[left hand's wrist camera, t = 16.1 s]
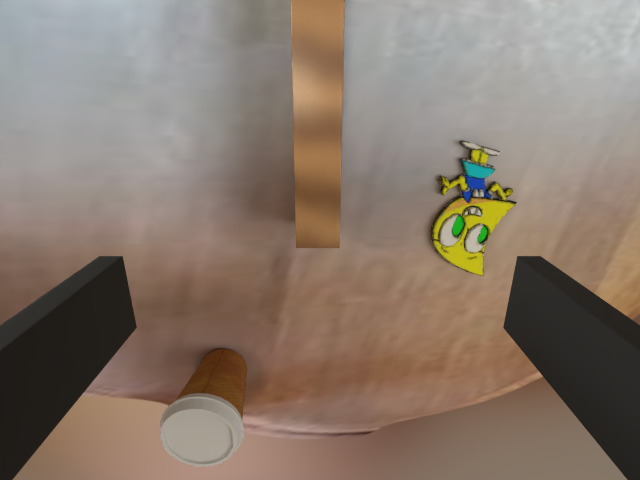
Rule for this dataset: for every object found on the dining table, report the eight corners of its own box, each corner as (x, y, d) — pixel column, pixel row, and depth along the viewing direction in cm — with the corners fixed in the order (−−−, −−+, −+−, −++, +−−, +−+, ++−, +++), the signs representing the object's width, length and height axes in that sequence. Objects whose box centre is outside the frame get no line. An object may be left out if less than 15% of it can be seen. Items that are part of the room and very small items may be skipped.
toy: (540, 162, 42) (485, 278, 47) (536, 161, 43) (483, 275, 48) (456, 138, 41) (410, 259, 46) (453, 137, 42) (408, 256, 47)
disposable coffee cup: (240, 403, 55) (220, 480, 44) (180, 377, 53) (143, 450, 42) (270, 356, 52) (256, 426, 41) (207, 327, 51) (175, 392, 39)
